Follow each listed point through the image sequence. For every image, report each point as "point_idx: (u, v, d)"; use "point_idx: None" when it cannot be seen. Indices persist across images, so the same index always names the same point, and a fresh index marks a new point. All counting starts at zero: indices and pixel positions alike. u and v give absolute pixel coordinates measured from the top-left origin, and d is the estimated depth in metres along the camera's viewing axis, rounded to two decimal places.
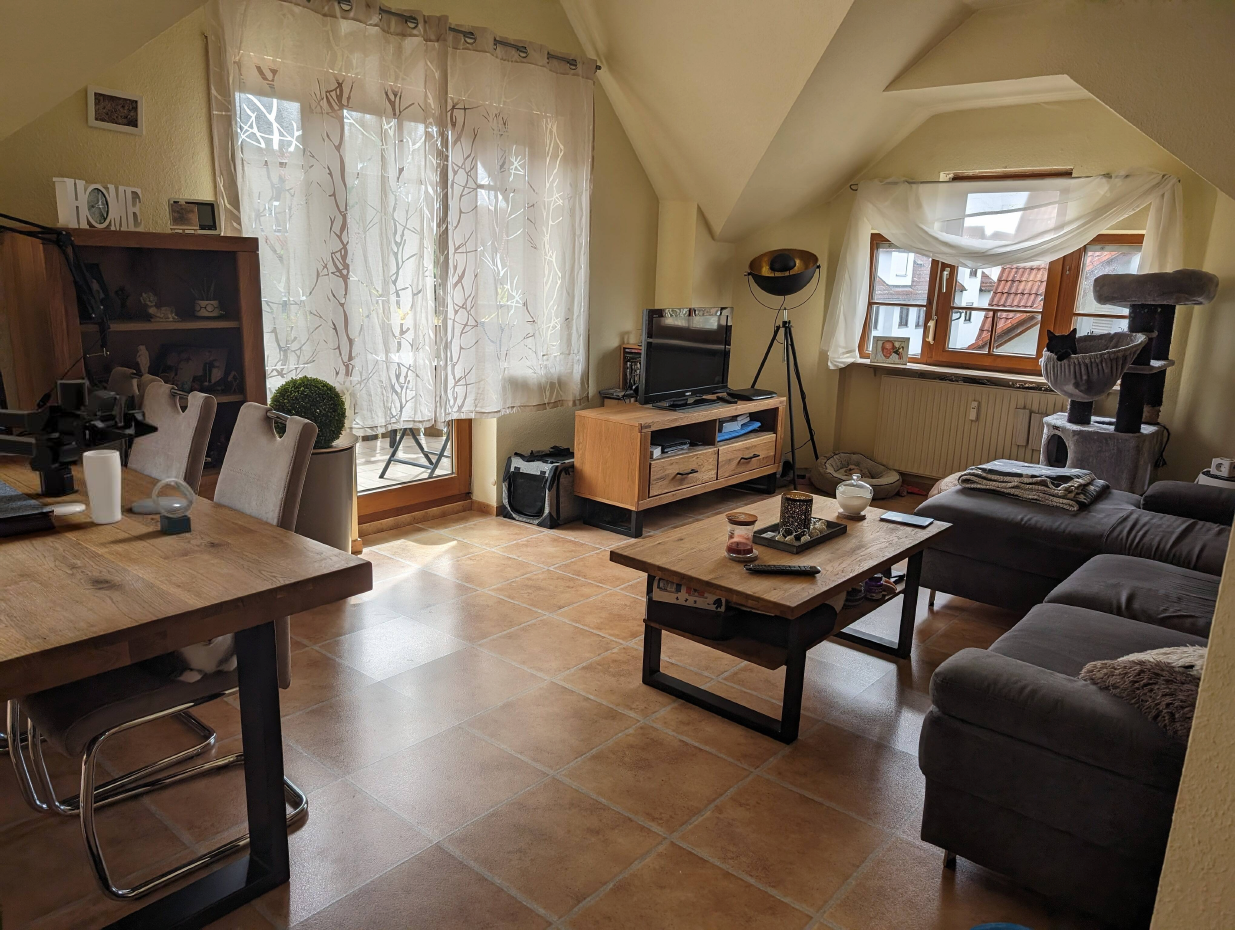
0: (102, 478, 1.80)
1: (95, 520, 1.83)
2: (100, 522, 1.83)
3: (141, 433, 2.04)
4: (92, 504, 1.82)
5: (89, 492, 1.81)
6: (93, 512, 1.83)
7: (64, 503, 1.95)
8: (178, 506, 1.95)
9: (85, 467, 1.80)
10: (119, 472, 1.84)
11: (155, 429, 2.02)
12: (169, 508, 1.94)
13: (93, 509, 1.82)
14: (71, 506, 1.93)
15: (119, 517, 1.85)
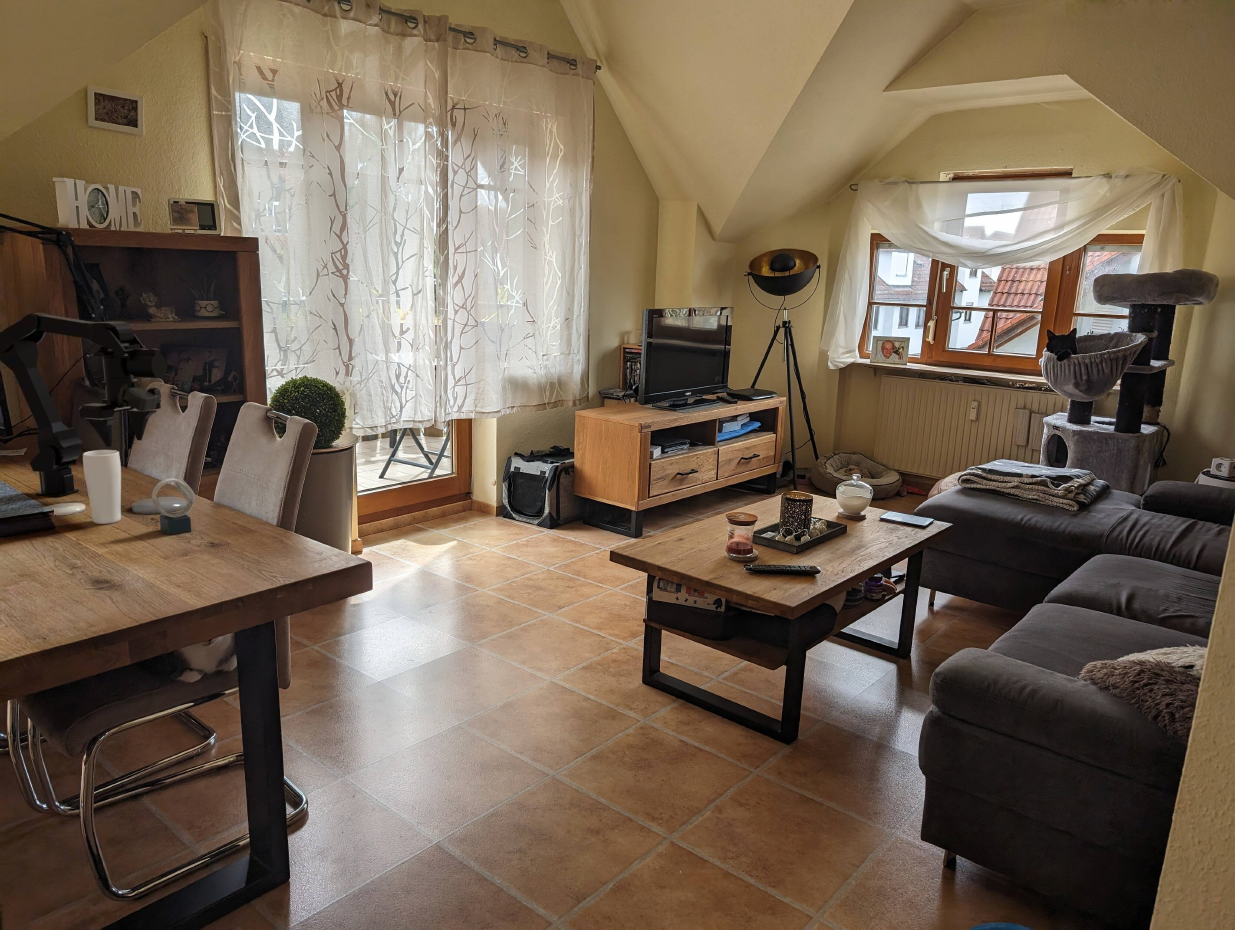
0: (102, 478, 1.80)
1: (95, 520, 1.83)
2: (100, 522, 1.83)
3: (133, 420, 2.07)
4: (92, 504, 1.82)
5: (89, 492, 1.81)
6: (93, 512, 1.83)
7: (64, 503, 1.95)
8: (178, 506, 1.95)
9: (85, 467, 1.80)
10: (119, 472, 1.84)
11: (138, 438, 2.07)
12: (169, 508, 1.94)
13: (93, 509, 1.82)
14: (71, 506, 1.93)
15: (119, 517, 1.85)
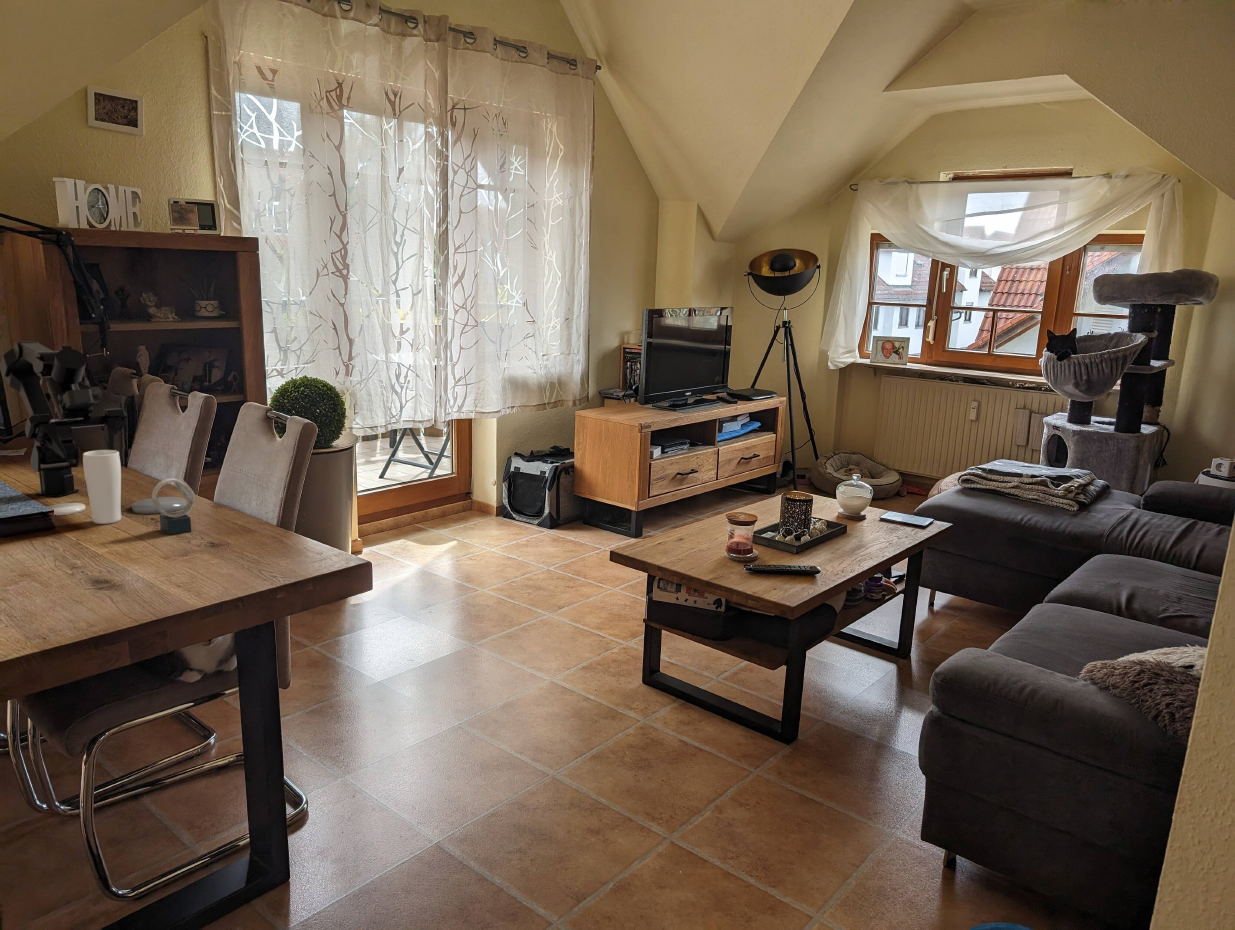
0: (102, 478, 1.80)
1: (95, 520, 1.83)
2: (100, 522, 1.83)
3: (105, 438, 1.94)
4: (92, 504, 1.82)
5: (89, 492, 1.81)
6: (93, 512, 1.83)
7: (64, 503, 1.95)
8: (178, 506, 1.95)
9: (85, 467, 1.80)
10: (119, 472, 1.84)
11: None
12: (169, 508, 1.94)
13: (93, 509, 1.82)
14: (71, 506, 1.93)
15: (119, 517, 1.85)
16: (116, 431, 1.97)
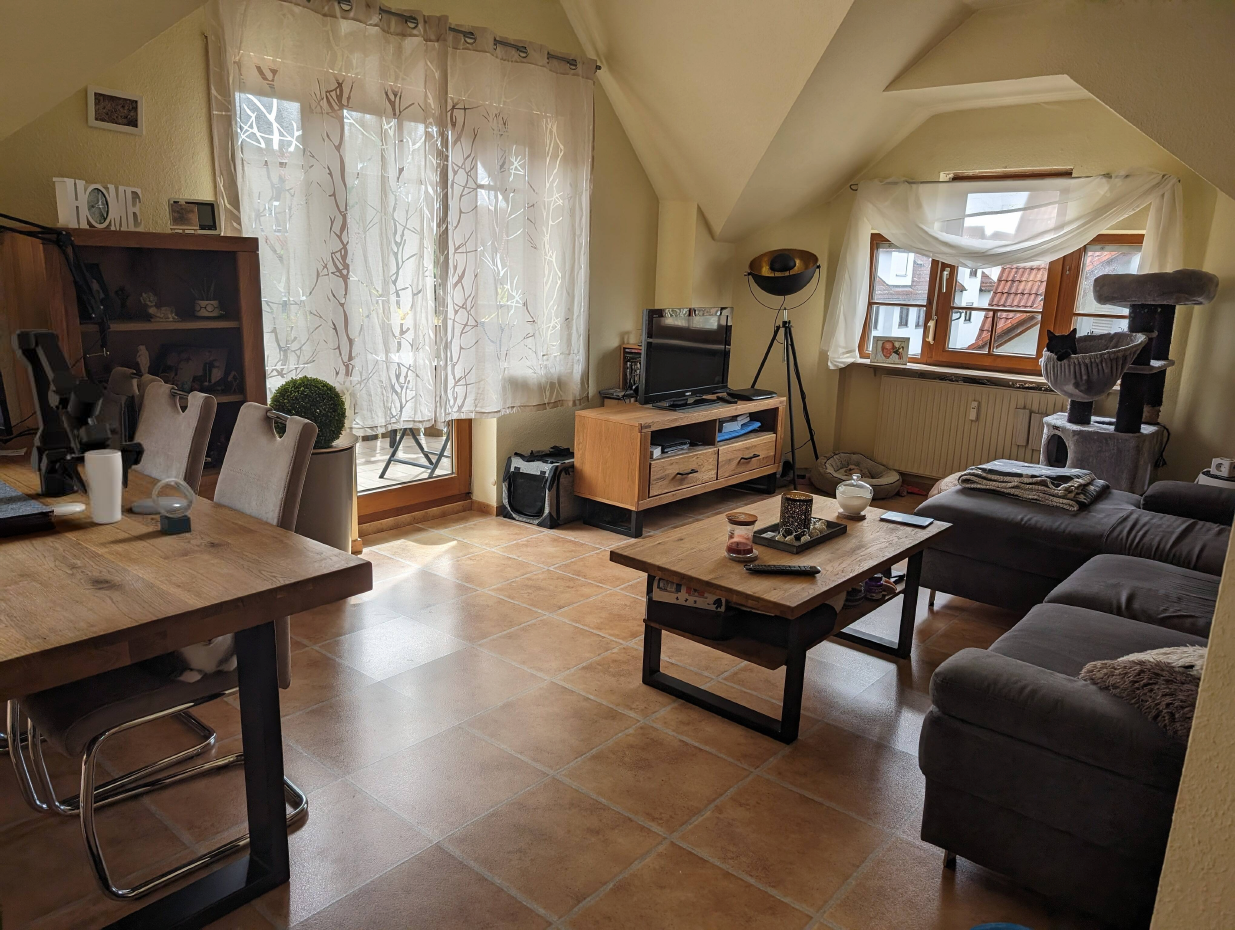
0: (103, 478, 1.80)
1: (95, 520, 1.83)
2: (100, 522, 1.83)
3: None
4: (93, 503, 1.82)
5: (90, 491, 1.81)
6: (93, 511, 1.82)
7: (64, 503, 1.95)
8: (178, 506, 1.95)
9: (87, 466, 1.80)
10: (120, 472, 1.84)
11: (124, 486, 1.86)
12: (169, 508, 1.94)
13: (93, 508, 1.82)
14: (71, 506, 1.93)
15: (119, 517, 1.85)
16: (130, 465, 1.91)
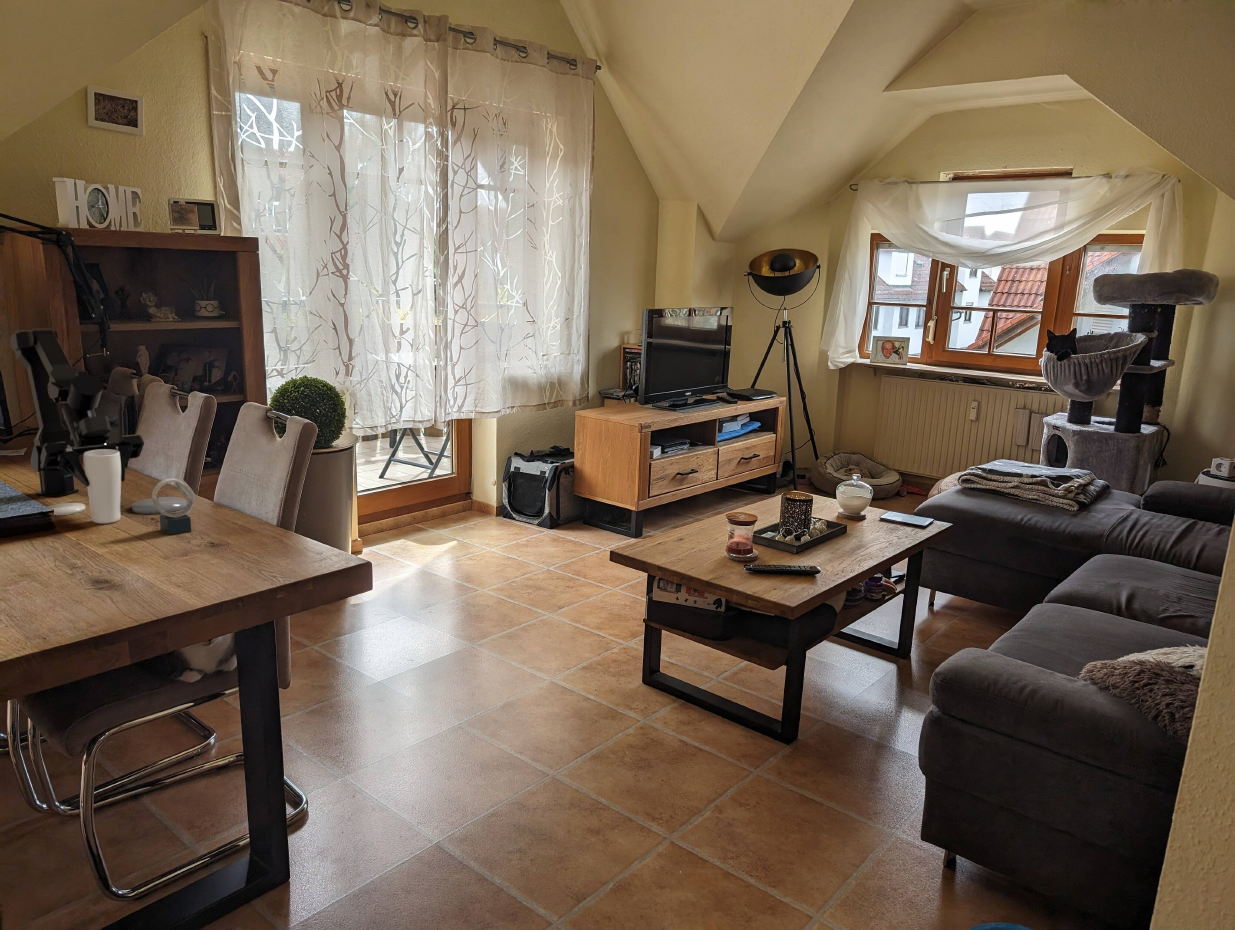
0: (103, 478, 1.80)
1: (94, 519, 1.83)
2: (99, 522, 1.83)
3: None
4: (92, 504, 1.82)
5: (89, 492, 1.81)
6: (93, 511, 1.82)
7: (64, 503, 1.95)
8: (178, 506, 1.95)
9: (86, 467, 1.80)
10: (119, 472, 1.83)
11: (121, 479, 1.85)
12: (169, 508, 1.94)
13: (93, 509, 1.82)
14: (71, 506, 1.93)
15: (118, 517, 1.85)
16: (127, 458, 1.90)
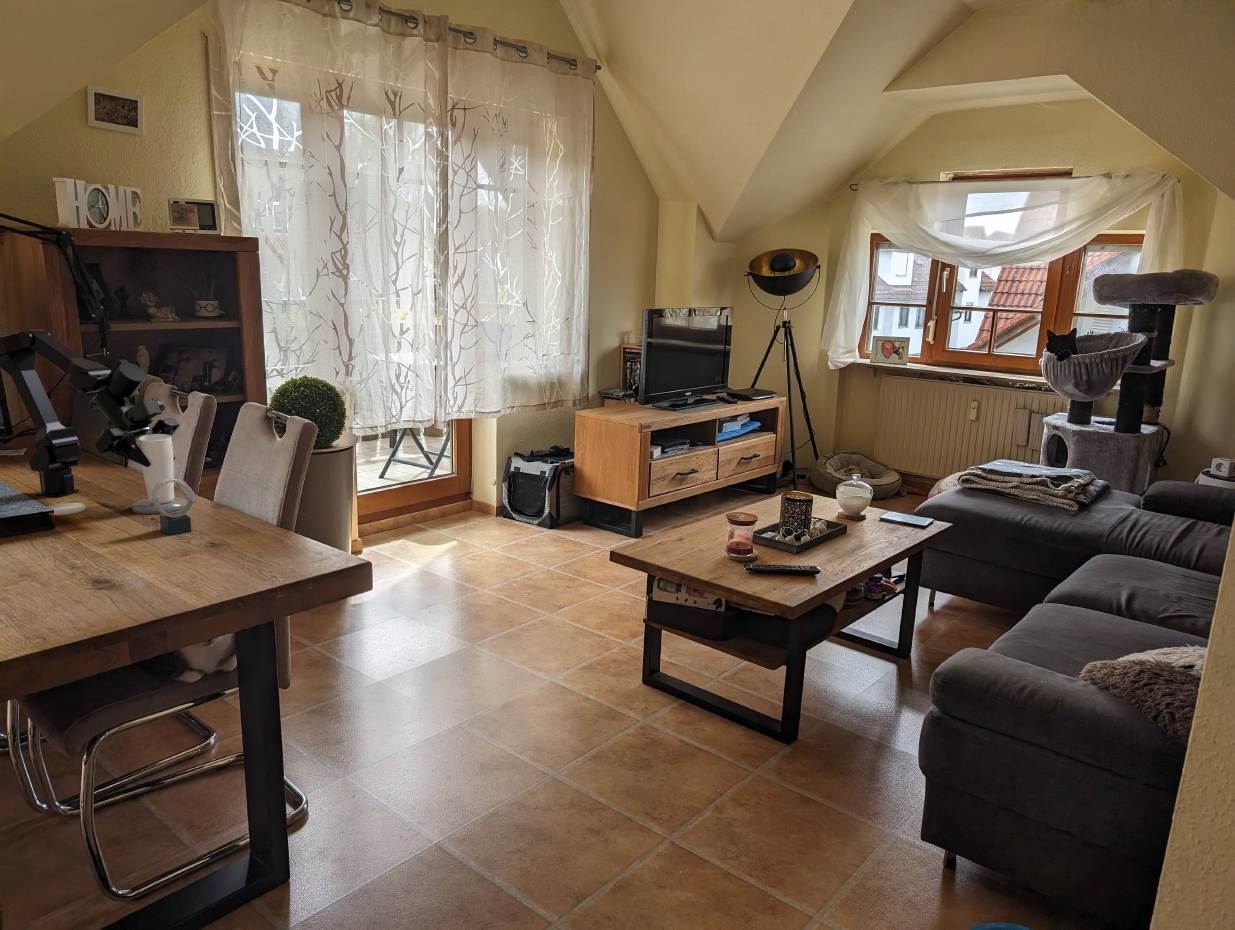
0: (165, 460, 1.93)
1: None
2: (162, 502, 1.95)
3: None
4: (154, 486, 1.94)
5: (150, 475, 1.93)
6: None
7: (64, 503, 1.95)
8: (178, 506, 1.95)
9: (147, 452, 1.91)
10: None
11: None
12: (169, 508, 1.94)
13: None
14: (71, 506, 1.93)
15: None
16: None
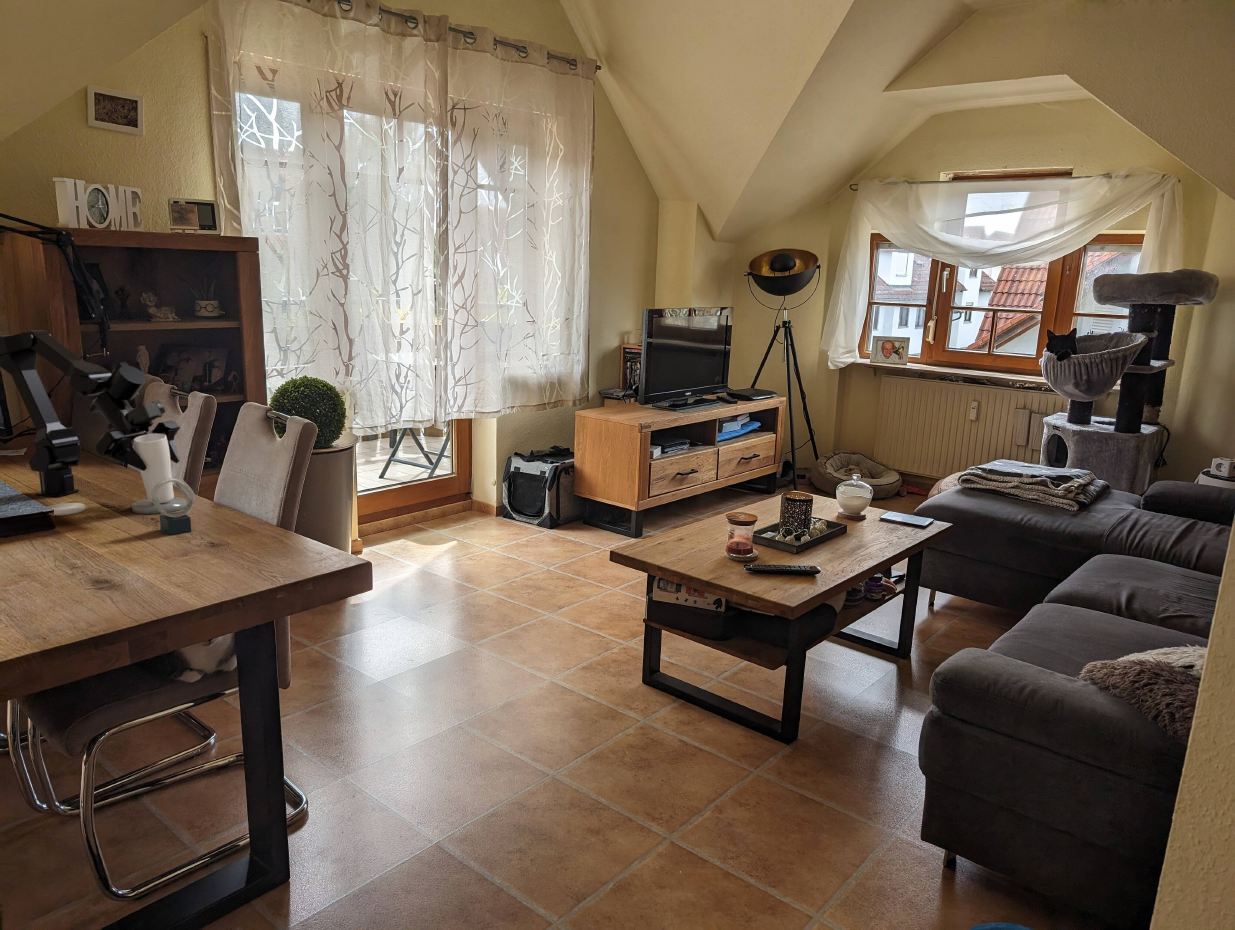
0: (162, 460, 1.93)
1: None
2: (162, 501, 1.95)
3: None
4: (152, 486, 1.94)
5: (148, 476, 1.92)
6: None
7: (64, 503, 1.95)
8: (178, 506, 1.95)
9: (143, 453, 1.90)
10: None
11: (176, 460, 1.99)
12: (169, 508, 1.94)
13: None
14: (71, 506, 1.93)
15: (173, 494, 1.99)
16: None
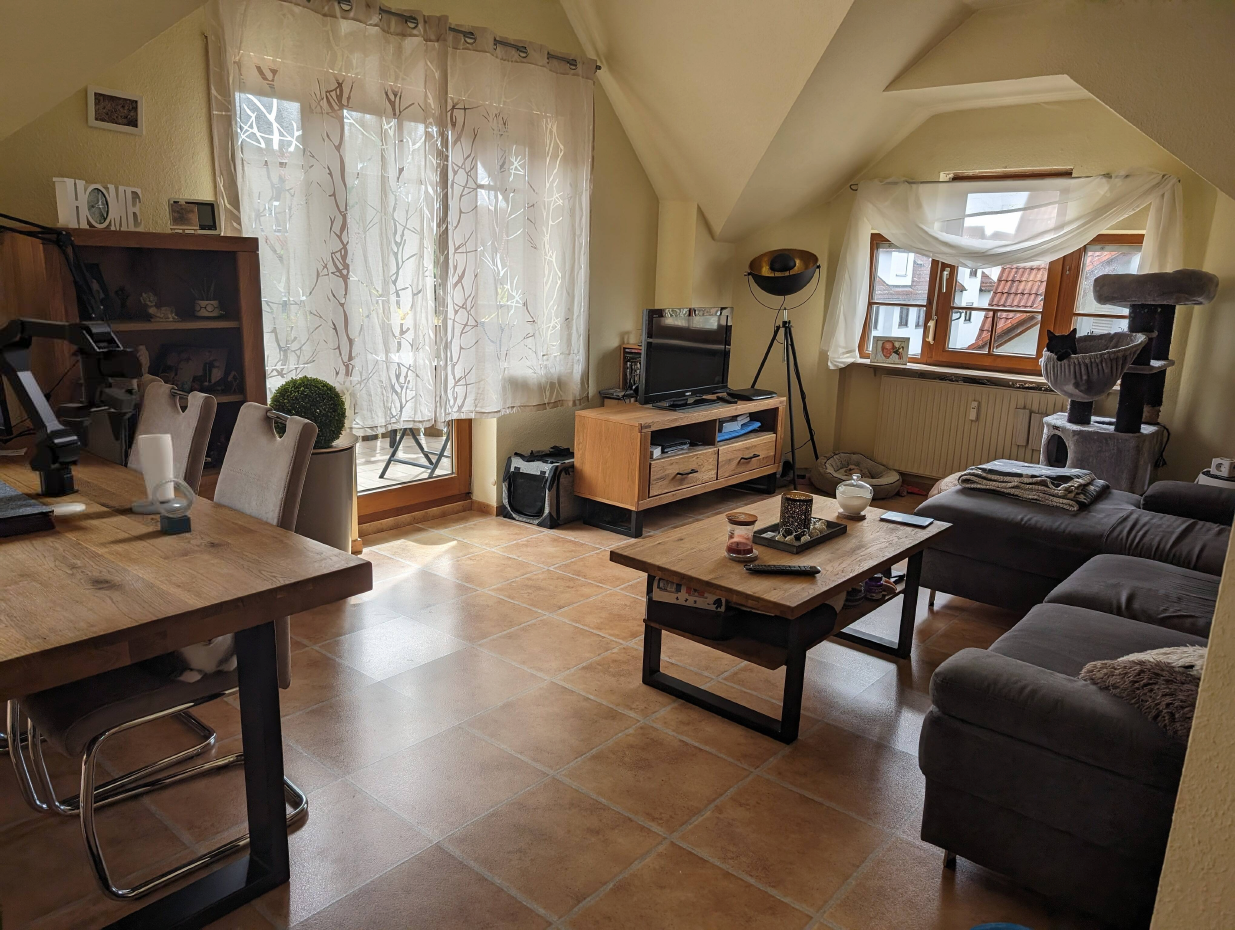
0: (166, 456, 1.95)
1: (158, 498, 1.95)
2: (163, 499, 1.96)
3: (111, 420, 2.05)
4: (155, 483, 1.94)
5: (151, 471, 1.94)
6: None
7: (64, 503, 1.95)
8: (178, 506, 1.95)
9: (148, 447, 1.93)
10: None
11: (116, 439, 2.05)
12: (169, 508, 1.94)
13: None
14: (71, 506, 1.93)
15: None
16: None
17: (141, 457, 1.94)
